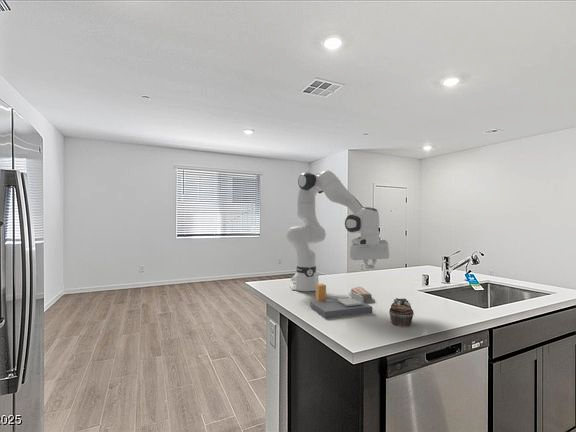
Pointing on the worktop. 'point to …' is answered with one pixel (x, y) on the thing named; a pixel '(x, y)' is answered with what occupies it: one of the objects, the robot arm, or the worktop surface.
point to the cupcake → (401, 313)
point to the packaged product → (362, 294)
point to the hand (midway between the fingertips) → (370, 268)
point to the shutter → (352, 300)
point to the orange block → (320, 292)
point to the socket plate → (339, 309)
